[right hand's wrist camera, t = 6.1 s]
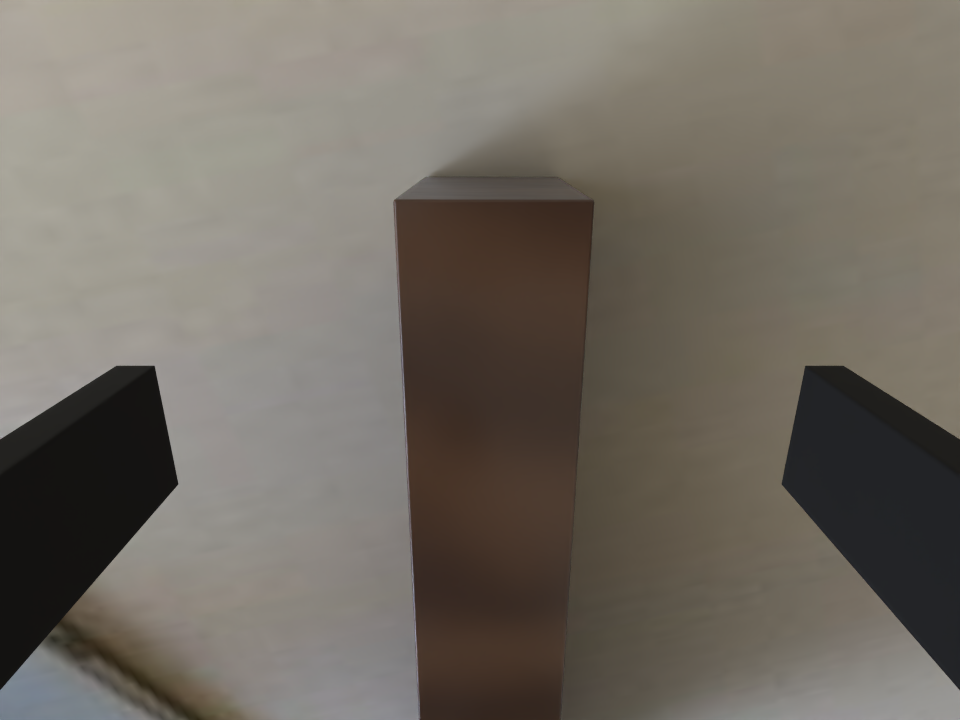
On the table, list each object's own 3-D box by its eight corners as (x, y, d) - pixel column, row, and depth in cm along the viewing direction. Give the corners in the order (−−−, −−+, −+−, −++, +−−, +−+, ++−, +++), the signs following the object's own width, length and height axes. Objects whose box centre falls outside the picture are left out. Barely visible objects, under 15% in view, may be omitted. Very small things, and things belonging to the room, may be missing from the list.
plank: (424, 176, 22) (392, 199, 15) (559, 176, 22) (594, 199, 15) (443, 772, 34) (430, 955, 26) (532, 774, 34) (545, 957, 26)
